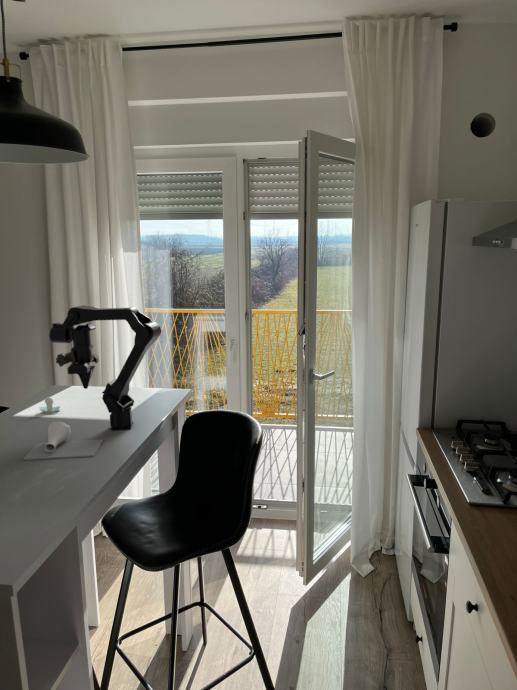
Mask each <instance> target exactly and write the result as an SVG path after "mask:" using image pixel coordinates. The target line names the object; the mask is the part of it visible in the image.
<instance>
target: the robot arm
mask: <svg viewBox="0 0 517 690" xmlns="http://www.w3.org/2000/svg"><path fill="white" fill-rule="evenodd" d="M93 321H95V322H96V321H125V322H127V323H128V326H129V327H130V329H131V330H132V331H133V332H134V333H135V335H134V340H133V341H134V342H133V343H134V344H133V347H132V349H131V350H130V353H129V355H128V357H127V359H126V361H125V362H124V364H123V366H122V368H121V369H120V372H119V373H118V376H117V378H115V379H112V380H111V381H109V382H107V383H106V386H105V388H104V390H103V391H102V398H101V399H102V401H103V404H104V405H105V406H106V409H107V411H108V413H109V414H110V415H109V423H110V425H109V426H110V427H111V428H110V430H111V431H114V430H119V431H121V430H130V429H132V427H133V425H134V421H133V412H132V407H133V406H134V404H135V400H134V398H132V396H130V394H129V391H130V383H131V381H132V379H133V377H134V376H135V374H136V372H137V369H138V368H139V366H140V365H141V363H142V361H143V358H144V357H145V355H146V353H147V351H148V350H149V349H150V347H152V346H153V345H154V344H155V342H156V341H157V340H158V339H159V337H160V336H161V335H162V329H161V326H160V324H159V323H158V322H156V321H153V320H152V319H151V318H150V317H149V316H147V315H146V314H144V313H142V312H141V311H140V310H139V309H138V308H136V307H134V306H131V307H109V308H106V307H103V308H98V307H95V306H89V305H79V306H74V307H70V308H69V309H68V311H67V316H66V318H65V319H64V321H63V322H62V323H61V322H54V323H52V326H51V329H50V331H49V339H50V341H51V343H54V344H71V343H72V348H71V349H70V351H68V352H65V353H63V352H62V353H59V354H57V356H56V357H55V360H56V361H55V363H56V364H58V365H59V367H63V366H64V365H67V364H69V363H71V364H70V365H69V366H68V367H67V375H77V376H78V377H79V380H80V381H81V382H80V383H81V385H82V387H83V389H84V390H86V389H88V388H89V387H90V386H89V385H90V382H91V379H92V377H93V374H94V371H95V369H96V365H92V364H91V363H95V364H98V363H99V362H100V360H99V356H98V354H96V353H94V354H93V353H92V349H93V347H94V346H93V344H92V340H91V331H93V330H96V329H97V328H96V326H94V325H93V324H92V323H91V322H93ZM75 326H76V327H75Z"/></svg>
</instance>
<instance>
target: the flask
mask: <svg viewBox="0 0 517 690" xmlns="http://www.w3.org/2000/svg"><path fill="white" fill-rule="evenodd" d="M47 433H48V434H47V436H48V437H47V442H48V443H47V444H46V445H45V451H47V452H54V451H55V449H56V446H57V445H59V444H61V443H63V442H65V441H68V439H69V438H70V436H71V435H72V431H71V426H70V425H69V424H66V423H65V422H63V421H51V423H50V425H49V426H48V427H47Z"/></svg>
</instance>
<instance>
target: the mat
mask: <svg viewBox="0 0 517 690" xmlns="http://www.w3.org/2000/svg"><path fill="white" fill-rule="evenodd" d="M103 441H104V439H85V440H82V439H80V440H67V441H65V442H63V443H61V444H59V445H57V446H56V449H55V451H54V452H47V451H45V445H46V444H47V443H48V441H47V442H46V441H42V442H37V443H36V444H35V445H34V446H33V448H31V450H30V451H28V453H27V454H26V456H24V458H23V461H31V460H33V461H34V460H53V459H69V458H86V457H87V458H89V457H95V455H96V454H97V453H98V450H99V449H100V446H101V445H102V443H103Z"/></svg>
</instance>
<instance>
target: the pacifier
mask: <svg viewBox="0 0 517 690" xmlns="http://www.w3.org/2000/svg"><path fill="white" fill-rule="evenodd" d="M44 403H45V405H46V406H40V407H39V411H40V412H43V413H45V414H47V415H49V414H55V413H57V412H60V411H61V409H60V408H61V406H60V405H58V406H53V404H54V399H53V398H52V397H49V396H47V397H45V399H44Z"/></svg>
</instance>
